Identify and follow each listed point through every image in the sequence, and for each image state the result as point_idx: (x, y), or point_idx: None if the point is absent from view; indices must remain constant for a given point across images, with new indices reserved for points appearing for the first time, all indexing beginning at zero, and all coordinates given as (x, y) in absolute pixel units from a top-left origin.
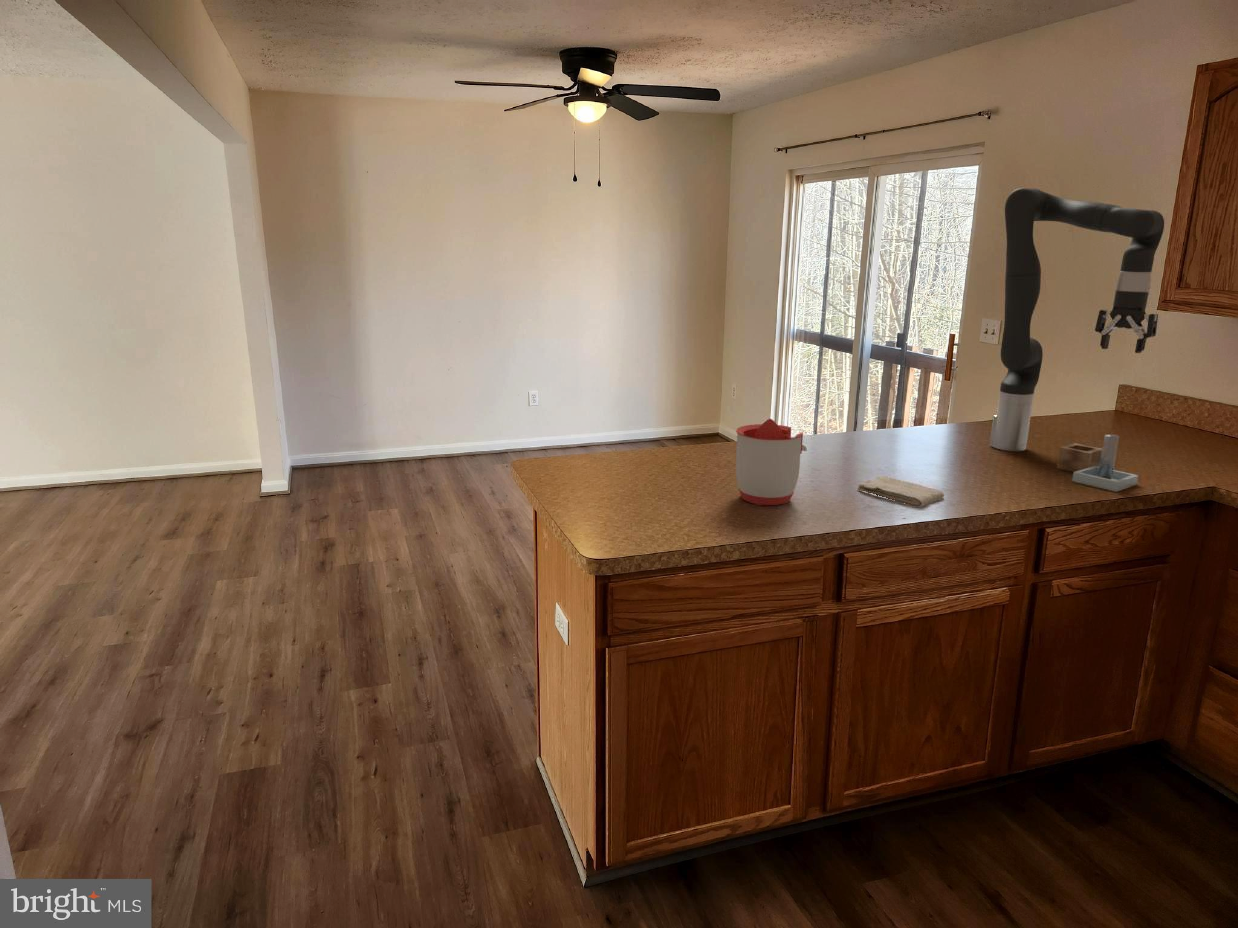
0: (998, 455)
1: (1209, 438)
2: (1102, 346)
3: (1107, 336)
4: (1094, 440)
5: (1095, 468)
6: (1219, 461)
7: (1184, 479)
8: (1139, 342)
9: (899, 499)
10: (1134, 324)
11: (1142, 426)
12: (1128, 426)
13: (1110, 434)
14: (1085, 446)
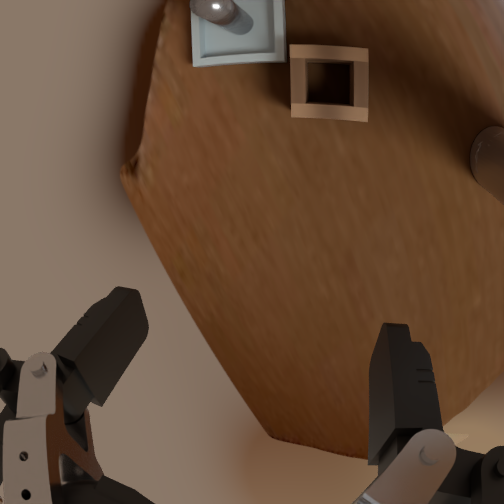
0: (484, 75)
1: (278, 423)
2: (404, 334)
3: (385, 432)
4: None
5: (275, 49)
6: (211, 333)
7: (176, 181)
8: (74, 336)
9: None
10: (15, 480)
11: (356, 431)
12: None
13: (216, 12)
14: (333, 106)
